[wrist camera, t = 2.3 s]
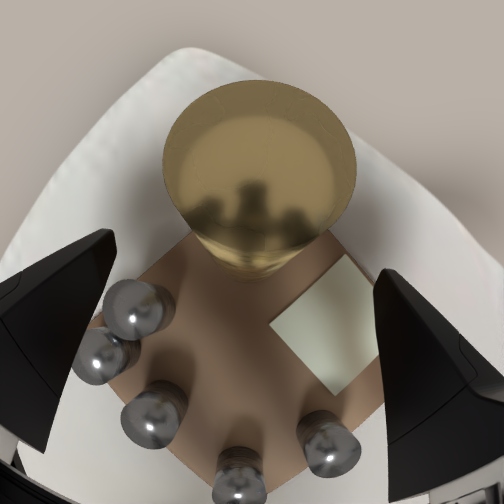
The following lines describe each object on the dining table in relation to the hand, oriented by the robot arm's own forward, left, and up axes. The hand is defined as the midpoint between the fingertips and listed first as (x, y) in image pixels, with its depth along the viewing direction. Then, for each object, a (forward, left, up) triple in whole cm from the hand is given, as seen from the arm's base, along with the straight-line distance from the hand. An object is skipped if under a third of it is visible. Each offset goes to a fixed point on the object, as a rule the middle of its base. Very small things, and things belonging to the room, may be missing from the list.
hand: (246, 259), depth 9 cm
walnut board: (-3, -4, -10) cm, 11 cm away
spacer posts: (-6, -4, -9) cm, 11 cm away
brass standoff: (+2, +1, -9) cm, 9 cm away
